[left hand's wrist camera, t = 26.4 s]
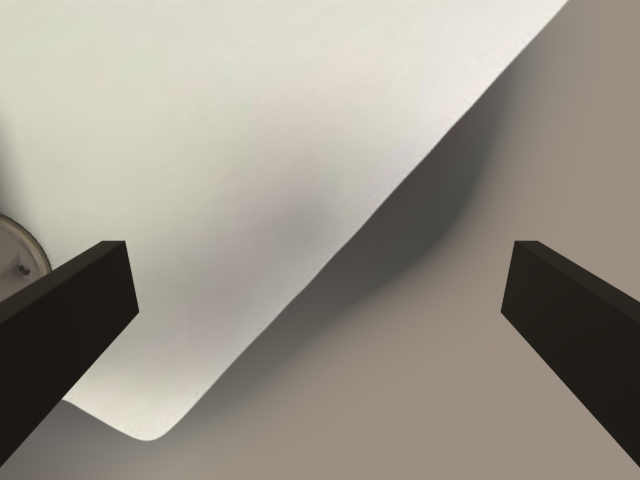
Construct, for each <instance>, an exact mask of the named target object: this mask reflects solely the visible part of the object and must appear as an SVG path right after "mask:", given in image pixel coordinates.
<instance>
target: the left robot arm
mask: <svg viewBox="0 0 640 480" xmlns="http://www.w3.org/2000/svg"><path fill="white" fill-rule="evenodd" d="M138 313H139V308H138V303H137V298H136V293H135V288H134V283H133V278H132V273H131V268H130V263H129V258H128V253H127V248H126V243H125V241H101V242H100V243H98V244H96V245H95V246H93V247H91V248H90V249H88V250H86V251H85V252H83V253H81V254H80V255H78V256H76V257H75V258H73V259H71V260H70V261H68V262H66V263H65V264H63V265H61V266H60V267H58V268H56V269H55V270H53V271H50V267H49V264H48V261H47V259H46V257H45V255H44V253H43V251H42V250H41V248H40V247H39V245H38V244H37V243H36V241H35V240H34V239H33V238H32V237H31V236H30V235H29V234H28V233H27V232H26V231H25V230H24V229H23V228H21V227H20V226H19V225H17V224H16V223H14V222H13V221H11V220H10V219H8V218H6V217H4V216H2V215H0V467H1V466H2V465H3V464H4V463H5V462H6V461H7V459H8V458H9V457H10V456H11V455H12V454H13V453H14V452H15V450H16V449H17V448H18V447H19V446H20V445H21V444H22V443H23V442H24V440H25V439H26V438H27V437H28V436H29V435H30V434H31V433H32V431H33V430H34V429H35V428H36V427H37V426H38V425H39V424H40V423H41V421H42V420H43V419H44V418H45V417H46V416H47V415H48V414H49V412H50V411H51V410H52V409H53V408H54V407H55V406H56V405H57V403H58V402H59V401H60V400H61V399H62V398H63V397H64V396H65V395H66V393H67V392H68V391H69V390H70V389H71V388H72V387H73V386H74V385H75V383H76V382H77V381H78V380H79V379H80V378H81V377H82V376H83V374H84V373H85V372H86V371H87V370H88V369H89V368H90V367H91V366H92V364H93V363H94V362H95V361H96V360H97V359H98V358H99V357H100V355H101V354H102V353H103V352H104V351H105V350H106V349H107V348H108V347H109V345H110V344H111V343H112V342H113V341H114V340H115V339H116V338H117V336H118V335H119V334H120V333H121V332H122V331H123V330H124V329H125V328H126V326H127V325H128V324H129V323H130V322H131V321H132V320H133V319H134V317H135V316H136V315H137V314H138ZM501 313H502V314H503V315H504V316H505V317H506V319H507V320H508V321H509V322H510V323H511V324H512V325H513V326H514V327H515V329H516V330H517V331H518V332H519V333H520V334H521V335H522V336H523V338H524V339H525V340H526V341H527V342H528V343H529V344H530V345H531V347H532V348H533V349H534V350H535V351H536V352H537V353H538V354H539V355H540V357H541V358H542V359H543V360H544V361H545V362H546V363H547V364H548V366H549V367H550V368H551V369H552V370H553V371H554V372H555V373H556V374H557V376H558V377H559V378H560V379H561V380H562V381H563V382H564V383H565V385H566V386H567V387H568V388H569V389H570V390H571V391H572V392H573V393H574V395H575V396H576V397H577V398H578V399H579V400H580V401H581V402H582V404H583V405H584V406H585V407H586V408H587V409H588V410H589V411H590V412H591V414H592V415H593V416H594V417H595V418H596V419H597V420H598V421H599V423H600V424H601V425H602V426H603V427H604V428H605V429H606V430H607V431H608V433H609V434H610V435H611V436H612V437H613V438H614V439H615V440H616V442H617V443H618V444H619V445H620V446H621V447H622V448H623V449H624V450H625V452H626V453H627V454H628V455H629V456H630V457H631V458H632V459H633V461H634V462H635V463H636V464H637V465H638V466H639V467H640V302H639V301H637V300H635V299H634V298H632V297H630V296H629V295H627V294H625V293H624V292H622V291H620V290H619V289H617V288H615V287H614V286H612V285H610V284H609V283H607V282H605V281H604V280H602V279H600V278H599V277H597V276H595V275H594V274H592V273H590V272H589V271H587V270H585V269H584V268H582V267H580V266H579V265H577V264H575V263H574V262H572V261H570V260H569V259H567V258H565V257H564V256H562V255H560V254H559V253H557V252H555V251H554V250H552V249H550V248H549V247H547V246H545V245H544V244H542V243H540V242H539V241H515V243H514V248H513V253H512V258H511V263H510V268H509V273H508V278H507V283H506V288H505V293H504V298H503V303H502V308H501Z"/></svg>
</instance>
